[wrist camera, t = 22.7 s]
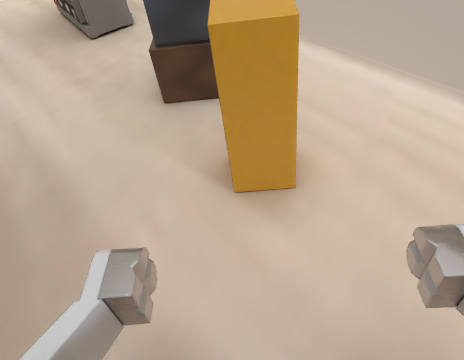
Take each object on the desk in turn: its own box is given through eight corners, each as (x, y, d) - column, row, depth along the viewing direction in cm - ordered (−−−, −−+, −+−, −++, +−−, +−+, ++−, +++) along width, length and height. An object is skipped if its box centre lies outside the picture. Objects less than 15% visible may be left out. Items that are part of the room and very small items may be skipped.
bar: (234, 192, 23) (207, 24, 16) (233, 152, 26) (210, -8, 18) (295, 187, 23) (299, 13, 15) (288, 147, 26) (288, -17, 18)
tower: (164, 103, 32) (133, -4, 26) (173, 62, 37) (149, -34, 31) (247, 95, 31) (237, -16, 25) (244, 55, 37) (235, -46, 30)
